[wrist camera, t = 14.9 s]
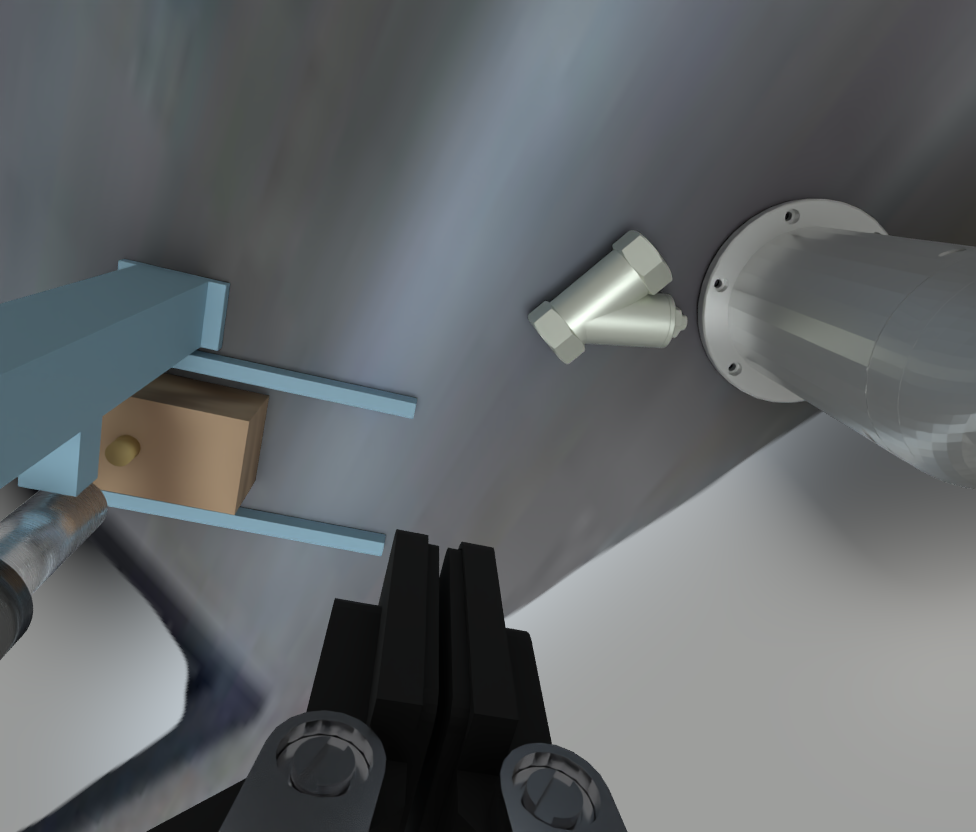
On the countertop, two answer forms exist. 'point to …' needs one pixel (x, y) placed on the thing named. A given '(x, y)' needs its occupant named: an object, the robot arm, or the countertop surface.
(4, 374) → the press
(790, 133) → the countertop surface
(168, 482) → the housing
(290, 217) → the countertop surface
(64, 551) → the ram
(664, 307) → the pipe fitting
